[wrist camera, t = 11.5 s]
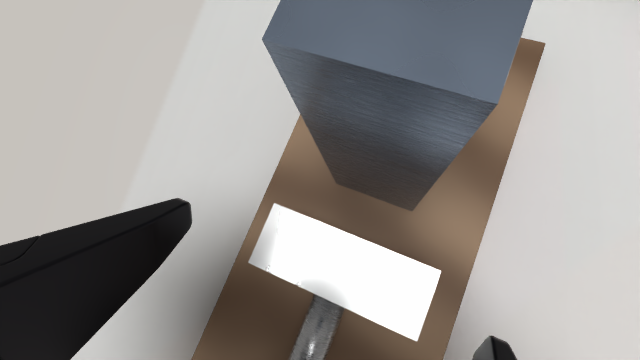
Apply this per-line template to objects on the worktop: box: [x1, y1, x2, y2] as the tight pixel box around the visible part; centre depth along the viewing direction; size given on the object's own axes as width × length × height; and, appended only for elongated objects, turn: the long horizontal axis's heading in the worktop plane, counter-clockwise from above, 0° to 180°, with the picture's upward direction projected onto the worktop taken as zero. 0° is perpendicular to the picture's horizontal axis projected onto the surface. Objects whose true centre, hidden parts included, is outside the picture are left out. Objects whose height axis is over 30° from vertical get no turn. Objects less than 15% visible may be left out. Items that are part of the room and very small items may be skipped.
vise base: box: [191, 31, 545, 360], centre depth 17 cm, size 28×12×4 cm, turn 157°
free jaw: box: [248, 203, 441, 360], centre depth 15 cm, size 12×8×4 cm, turn 157°
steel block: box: [262, 0, 533, 212], centre depth 12 cm, size 4×4×13 cm
